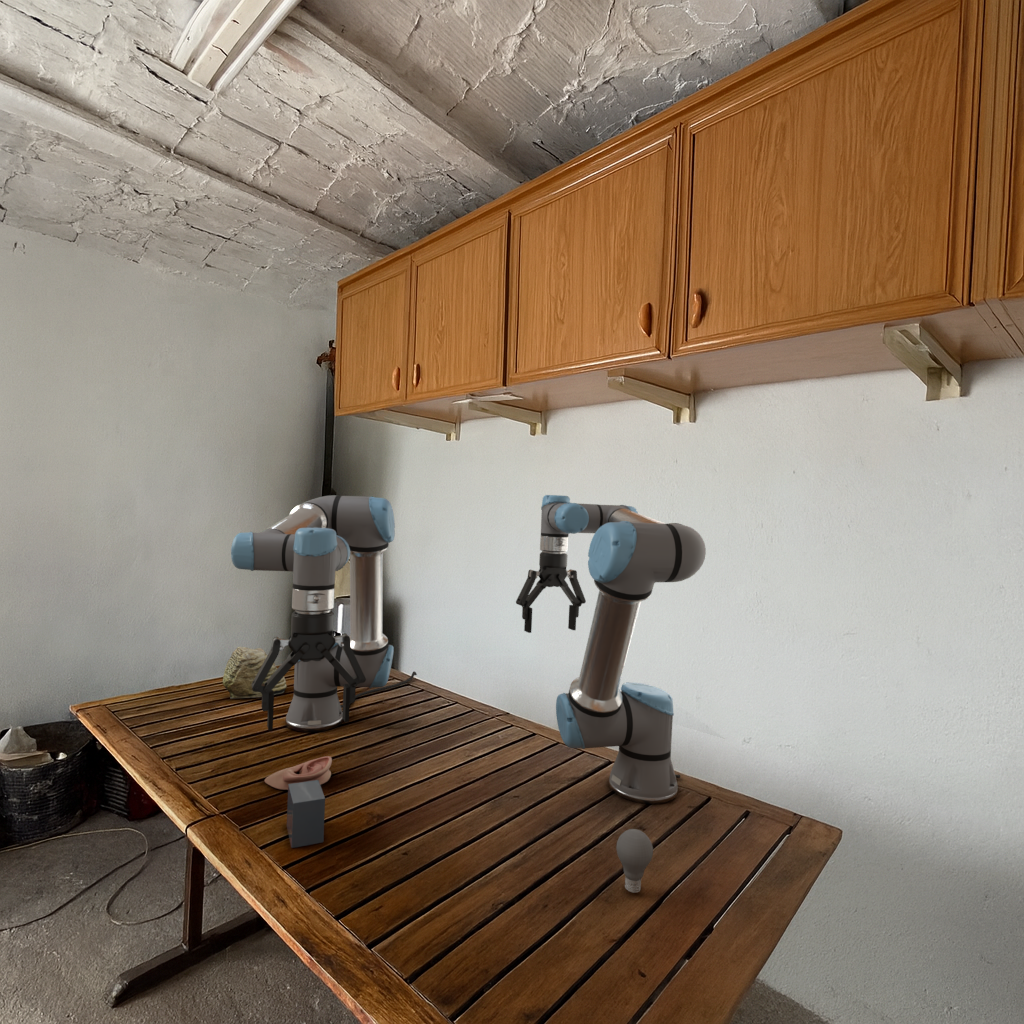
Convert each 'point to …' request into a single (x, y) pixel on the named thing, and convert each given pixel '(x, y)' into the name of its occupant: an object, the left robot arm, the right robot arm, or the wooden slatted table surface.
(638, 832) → the light bulb
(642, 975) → the wooden slatted table surface
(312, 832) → the dark grey boxy piece
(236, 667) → the fossil
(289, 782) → the anatomical model
